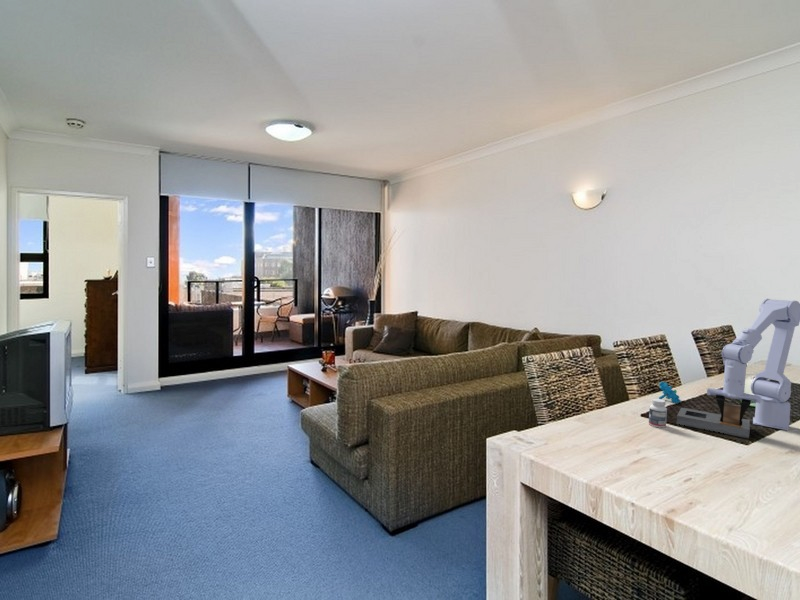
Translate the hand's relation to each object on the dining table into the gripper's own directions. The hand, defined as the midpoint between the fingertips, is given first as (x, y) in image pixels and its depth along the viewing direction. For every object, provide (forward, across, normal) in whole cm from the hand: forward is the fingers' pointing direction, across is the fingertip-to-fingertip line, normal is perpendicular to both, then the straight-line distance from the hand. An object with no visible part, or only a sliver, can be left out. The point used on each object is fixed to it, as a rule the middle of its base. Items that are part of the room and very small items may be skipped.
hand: (731, 419), depth 151 cm
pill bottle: (+4, -20, -12) cm, 24 cm away
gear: (+4, -21, +24) cm, 32 cm away
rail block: (+4, -5, 0) cm, 6 cm away
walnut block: (+2, 0, 0) cm, 2 cm away
